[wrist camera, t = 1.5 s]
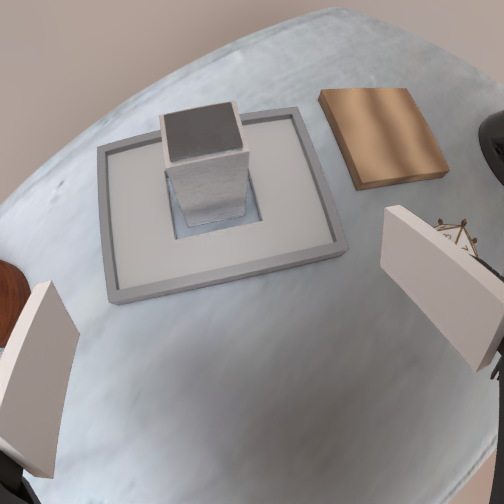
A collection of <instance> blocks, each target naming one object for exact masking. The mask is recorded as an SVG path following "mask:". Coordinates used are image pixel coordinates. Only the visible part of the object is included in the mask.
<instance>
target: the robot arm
mask: <svg viewBox="0 0 504 504" xmlns="http://www.w3.org/2000/svg"><path fill="white" fill-rule="evenodd" d="M479 139H480V144H481V147H482V150H483V153H484V155H485V158H486V160H487V162H488V164H489V165H490V167H491V169H492V170H493V172H494V173H495V175H496V176H497V177H498V179H499V180H500V181H501V182H502V184H503V185H504V110H503V111H500V112H497V113H495V114H492V115H490V116H489V117H488V118H487V119H486V120H485V121H484V122H483V123H482V124H481V126H480V129H479ZM380 266H381V267H382V269H383V270H384V271H385V272H386V273H387V274H388V275H389V276H390V277H391V278H392V279H393V280H394V281H395V282H396V283H397V284H398V285H399V286H400V287H401V288H402V289H403V291H404V292H405V293H406V294H407V295H408V296H409V297H410V298H411V299H412V300H413V301H414V302H415V303H416V305H417V306H418V307H419V308H420V309H421V310H422V311H423V312H424V313H425V314H426V316H427V317H428V318H429V319H430V320H431V321H432V322H433V323H434V325H435V326H436V327H437V328H438V329H439V330H440V331H441V333H442V334H443V335H444V336H445V337H446V338H447V339H448V341H449V342H450V343H451V344H452V345H453V346H454V348H455V349H456V350H457V351H458V352H459V354H460V355H461V356H462V357H463V358H464V360H465V361H466V362H467V363H468V364H469V366H470V367H471V368H472V369H473V371H474V372H475V373H476V372H478V371H479V370H481V369H482V368H484V367H485V366H487V365H489V364H490V363H491V361H492V359H493V357H494V355H495V353H496V352H497V351H498V352H499V353H500V354H501V355H502V356H501V358H500V360H499V361H498V363H497V365H496V367H495V369H494V370H493V372H492V374H491V378H490V379H494V377H495V375H496V374H497V372H498V371H499V376H498V378H497V380H499V429H498V443H497V455H496V464H495V471H494V479H493V485H492V491H491V496H490V502H489V504H504V277H503V276H500V275H499V273H498V272H497V271H495V270H494V269H493V270H492V267H490V266H489V265H488V264H487V263H485V262H484V261H483V260H481V259H479V258H477V257H475V256H473V255H470V254H468V253H466V252H465V251H464V250H462V249H461V248H460V247H459V246H457V245H456V244H455V243H453V242H452V241H451V240H449V239H448V238H446V237H445V236H444V235H442V234H441V233H440V232H438V231H437V230H435V229H434V228H433V227H431V226H430V225H428V224H427V223H426V222H424V221H423V220H421V219H420V218H418V217H417V216H415V215H414V214H413V213H411V212H410V211H408V210H407V209H405V208H404V207H402V206H401V205H396V206H390V207H385V208H384V224H383V237H382V249H381V260H380ZM79 336H80V333H79V331H78V330H77V328H76V326H75V324H74V323H73V321H72V319H71V317H70V315H69V313H68V312H67V310H66V308H65V306H64V304H63V302H62V300H61V298H60V296H59V294H58V292H57V290H56V288H55V286H54V284H53V282H52V280H51V281H46V282H42V283H38V284H36V286H35V287H34V289H33V291H32V293H31V295H30V297H29V299H28V301H27V303H26V305H25V307H24V309H23V311H22V313H21V315H20V317H19V319H18V321H17V323H16V325H15V327H14V329H13V331H12V333H11V336H10V338H9V340H8V342H7V345H6V347H5V349H4V352H3V354H2V356H1V359H0V504H41V502H40V501H39V499H38V498H37V496H36V494H35V492H34V491H33V489H32V487H31V485H30V484H29V482H28V481H27V480H26V478H24V477H23V476H22V474H23V469H25V470H26V471H27V472H29V473H30V474H32V475H33V476H34V477H40V478H52V479H53V478H54V468H55V459H56V451H57V443H58V436H59V430H60V423H61V417H62V412H63V406H64V401H65V396H66V391H67V386H68V381H69V377H70V372H71V368H72V363H73V359H74V355H75V351H76V347H77V343H78V339H79Z"/></svg>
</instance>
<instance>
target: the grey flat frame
mask: <svg viewBox="0 0 504 504" xmlns="http://www.w3.org/2000/svg"><path fill="white" fill-rule="evenodd" d="M239 116H240V120H241V123H242V126H243V130H244V133H245V137H246V140H247V144H248V147H249V151H250V154H249V166H248V176H249V179H250V183H251V187H252V191H253V194H254V198H255V202H256V206H257V209H258V213H259V217H260V221H259V222H254V223H249V224H245V225H240V226H235V227H230V228H226V229H221V230H216V231H212V232H207V233H203V234H198V235H193V236H189V237H184V238H180V239H176V233H175V228H174V222H173V216H172V209H171V203H170V197H169V190H168V183H167V177H169V176H168V173H167V170H166V167H165V159H164V152H163V144H162V136H161V130H158V131H154V132H150V133H146V134H142V135H138V136H134V137H130V138H127V139H123V140H120V141H116V142H113V143H109V144H106V145H102V146H99V147H97V178H98V203H99V220H100V233H101V244H102V254H103V263H104V272H105V280H106V287H107V294H108V301H109V303H112V304H115V305H121V304H126V303H131V302H136V301H141V300H145V299H150V298H155V297H160V296H165V295H169V294H174V293H179V292H183V291H188V290H193V289H197V288H202V287H207V286H211V285H216V284H220V283H225V282H229V281H234V280H238V279H243V278H247V277H251V276H256V275H260V274H265V273H269V272H273V271H278V270H282V269H286V268H291V267H295V266H299V265H303V264H308V263H312V262H316V261H320V260H324V259H329V258H333V257H337V256H341V255H342V254H344V253H345V252H346V251H347V250H349V248H348V244H347V241H346V238H345V235H344V232H343V229H342V225H341V222H340V219H339V216H338V213H337V210H336V207H335V204H334V201H333V199H332V196H331V193H330V190H329V187H328V184H327V181H326V179H325V176H324V173H323V170H322V168H321V165H320V162H319V160H318V157H317V154H316V152H315V149H314V147H313V144H312V141H311V139H310V136H309V134H308V131H307V129H306V126H305V124H304V121H303V119H302V116H301V114H300V112H299V109H298V107H290V108H282V109H273V110H266V111H258V112H251V113H245V114H239Z"/></svg>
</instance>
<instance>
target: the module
mask: <svg viewBox="0 0 504 504" xmlns="http://www.w3.org/2000/svg"><path fill="white" fill-rule="evenodd" d="M159 118H160V127H161V136H162V144H163V152H164V159H165V167H166V170H167V173H168V176H169V178H170V181H171V184H172V186H173V189H174V191H175V194H176V196H177V199H178V202H179V204H180V207H181V209H182V212H183V214H184V217H185V219H186V222H187V224H188V227H194V226H198V225H203V224H207V223H212V222H217V221H221V220H226V219H231V218H236V217H240V216H245V204H246V191H247V178H248V166H249V154H250V151H249V147H248V144H247V140H246V137H245V133H244V130H243V126H242V123H241V120H240V116H239V113H238V109H237V106H236V102H235V101H230V102H224V103H218V104H212V105H207V106H202V107H196V108H191V109H186V110H182V111H177V112H173V113H168V114H164V115H159Z"/></svg>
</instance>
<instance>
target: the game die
mask: <svg viewBox="0 0 504 504" xmlns="http://www.w3.org/2000/svg"><path fill="white" fill-rule="evenodd" d="M438 223H439V224H440V225H438V226H436V227H434V229H435V230H437V231H438V232H440V233H441V234H442V235H444V236H445V237H446V238H448V239H449V240H451V241H452V242H453V243H455V244H456V245H457V246H459V247H460V248H461V249H462V250H464V251H465V252H466V253H468V254H470V255H473V256H475V257H477V258H478V255H477V252H476V249H475V247H474V244H473V243H475V242H477V239H476V238H474V239H473V240H471V238H470V236H469V235H468V233H467V231H466V230H465V228H464V226H465V225H466V223H467V222H466V219H464V220H462V222H461V223H462V224H461V225H447V224H442V223H443V222H442V220H441V219H440V218H439V220H438Z"/></svg>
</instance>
